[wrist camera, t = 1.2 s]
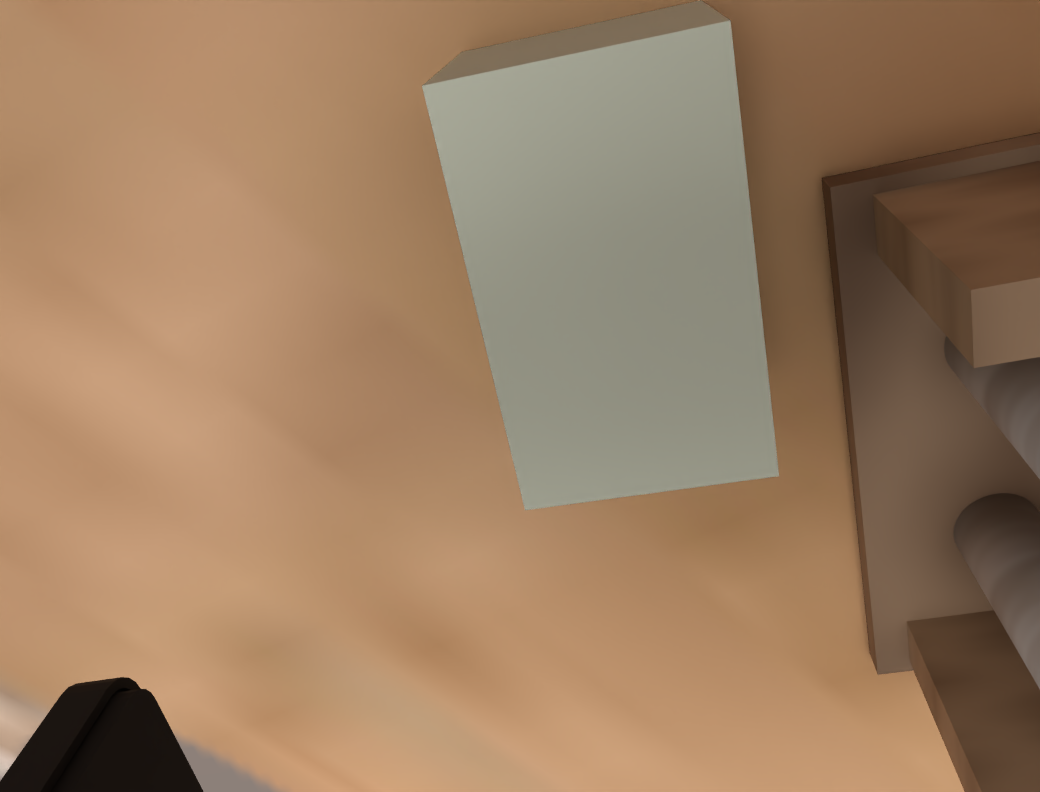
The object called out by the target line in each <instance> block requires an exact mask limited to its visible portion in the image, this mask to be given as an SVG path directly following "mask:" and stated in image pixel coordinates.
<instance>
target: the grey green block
mask: <svg viewBox="0 0 1040 792" xmlns="http://www.w3.org/2000/svg"><path fill="white" fill-rule="evenodd" d="M422 88H423V92H424V96H425V100H426V104H427V108H428V112H429V117H430V121H431V125H432V129H433V133H434V137H435V141H436V145H437V150H438V154H439V158H440V162H441V166H442V170H443V174H444V178H445V182H446V187H447V191H448V195H449V199H450V203H451V207H452V211H453V215H454V220H455V224H456V228H457V232H458V236H459V240H460V244H461V248H462V252H463V257H464V261H465V265H466V269H467V273H468V277H469V281H470V285H471V289H472V294H473V298H474V302H475V306H476V310H477V314H478V318H479V322H480V327H481V331H482V335H483V339H484V343H485V347H486V351H487V355H488V359H489V364H490V368H491V372H492V376H493V380H494V384H495V388H496V392H497V397H498V401H499V405H500V409H501V413H502V417H503V421H504V425H505V429H506V434H507V438H508V442H509V446H510V450H511V454H512V458H513V462H514V467H515V471H516V475H517V479H518V483H519V487H520V491H521V495H522V499H523V504H524V508H525V510H531V509H538V508H546V507H553V506H561V505H568V504H576V503H583V502H590V501H598V500H605V499H613V498H620V497H628V496H635V495H642V494H650V493H657V492H665V491H672V490H680V489H687V488H694V487H702V486H709V485H717V484H724V483H732V482H739V481H746V480H754V479H761V478H769V477H776V476H779V471H778V462H777V452H776V443H775V433H774V424H773V415H772V405H771V396H770V386H769V377H768V368H767V358H766V349H765V340H764V330H763V321H762V311H761V302H760V293H759V283H758V274H757V265H756V255H755V246H754V236H753V227H752V218H751V208H750V199H749V189H748V180H747V171H746V161H745V152H744V143H743V133H742V124H741V114H740V105H739V96H738V86H737V77H736V68H735V58H734V49H733V39H732V30H731V21H730V20H729V19H728V18H726V17H725V16H723V15H722V14H720V13H719V12H718V11H716V10H715V9H713V8H712V7H710V6H709V5H707V4H706V3H705V2H703V1H702V0H700V1H695V2H691V3H686V4H681V5H677V6H672V7H667V8H663V9H658V10H654V11H649V12H644V13H640V14H635V15H631V16H626V17H621V18H617V19H612V20H607V21H603V22H598V23H594V24H589V25H584V26H580V27H575V28H570V29H566V30H561V31H557V32H552V33H547V34H543V35H538V36H533V37H529V38H524V39H520V40H515V41H510V42H506V43H501V44H497V45H492V46H487V47H483V48H478V49H473V50H469V51H464V52H461V53H460V54H459V55H458V56H456V57H455V58H454V59H453V60H452V61H451V62H449V63H448V64H447V65H446V66H445V67H444V68H442V69H441V70H440V71H439V72H438V73H436V74H435V75H434V76H433V77H432V78H431V79H429V80H428V81H427V82H426V83H425V84H424V85H422Z"/></svg>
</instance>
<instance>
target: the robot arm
mask: <svg viewBox="0 0 1040 792" xmlns="http://www.w3.org/2000/svg"><path fill="white" fill-rule="evenodd" d="M0 792H203V790H202V788H201V786H200V784H199V782H198V780H197V778H196V776H195V774H194V772H193V770H192V769H191V767H190V765H189V763H188V761H187V759H186V757H185V755H184V753H183V751H182V749H181V747H180V745H179V743H178V742H177V740H176V738H175V736H174V734H173V732H172V730H171V728H170V726H169V724H168V722H167V720H166V718H165V716H164V715H163V713H162V711H161V709H160V707H159V705H158V703H157V701H156V699H155V698H154V696H153V695H152V693H151V692H149V691H148V690H146V689H140V687H139V686H138V685H137V683H136V682H135V681H133V680H132V679H130V678H124V677H120V678H113V679H106V680H99V681H92V682H85V683H78V684H75V685H72V686H70V687H68V688H67V689H66V690H65V691H64V692H63V694H62V695H61V696H60V697H59V699H58V700H57V702H56V703H55V704H54V706H53V707H52V709H51V710H50V711H49V713H48V714H47V716H46V717H45V719H44V720H43V721H42V723H41V724H40V726H39V727H38V728H37V730H36V731H35V733H34V734H33V736H32V737H31V738H30V740H29V741H28V743H27V744H26V746H25V747H24V748H23V750H22V751H21V753H20V754H19V755H18V757H17V758H16V760H15V761H14V763H13V764H12V765H11V767H10V768H9V770H8V771H7V772H6V774H5V775H4V777H3V778H2V780H1V781H0Z"/></svg>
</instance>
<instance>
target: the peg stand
mask: <svg viewBox="0 0 1040 792" xmlns="http://www.w3.org/2000/svg"><path fill="white" fill-rule="evenodd" d="M822 185H823V195H824V204H825V214H826V224H827V234H828V244H829V254H830V264H831V274H832V283H833V293H834V303H835V313H836V323H837V333H838V343H839V353H840V362H841V372H842V382H843V392H844V402H845V412H846V422H847V432H848V441H849V451H850V461H851V471H852V481H853V491H854V501H855V511H856V520H857V530H858V540H859V550H860V560H861V570H862V580H863V590H864V599H865V609H866V619H867V629H868V639H869V649H870V655H871V657H872V660H873V663H874V665H875V668H876V671H877V674H887V673H895V672H903V671H912V670H914V672H915V675H916V677H917V680H918V682H919V684H920V687H921V689H922V691H923V694H924V696H925V698H926V701H927V703H928V706H929V708H930V710H931V713H932V715H933V717H934V720H935V722H936V725H937V727H938V729H939V732H940V734H941V736H942V739H943V741H944V744H945V746H946V748H947V751H948V753H949V755H950V758H951V760H952V762H953V765H954V767H955V770H956V772H957V774H958V777H959V779H960V781H961V784H962V786H963V789H964V791H965V792H1040V133H1036V134H1031V135H1026V136H1022V137H1017V138H1012V139H1007V140H1002V141H998V142H993V143H988V144H983V145H978V146H974V147H969V148H964V149H959V150H954V151H950V152H945V153H940V154H935V155H931V156H926V157H921V158H916V159H911V160H907V161H902V162H897V163H892V164H887V165H883V166H878V167H873V168H868V169H863V170H859V171H854V172H849V173H844V174H840V175H835V176H830V177H825V178H822Z"/></svg>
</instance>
